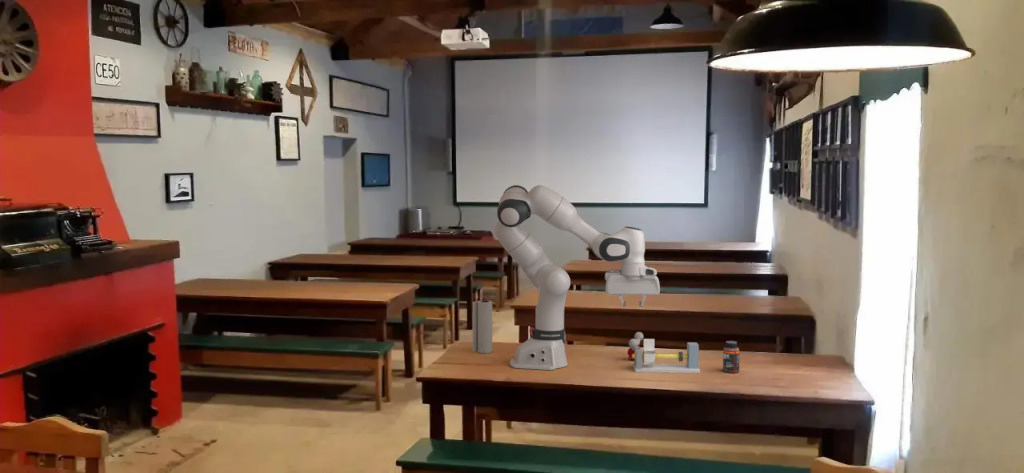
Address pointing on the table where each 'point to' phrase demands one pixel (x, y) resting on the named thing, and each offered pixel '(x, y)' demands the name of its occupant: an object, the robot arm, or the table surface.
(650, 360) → the marker sleeve
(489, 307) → the grey grooved column
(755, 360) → the table surface
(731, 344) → the supplement bottle
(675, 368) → the cord rig
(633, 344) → the molecular model
